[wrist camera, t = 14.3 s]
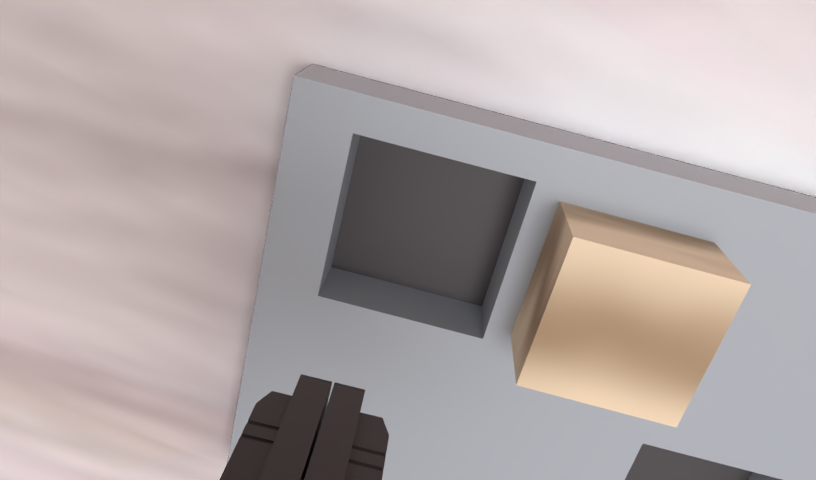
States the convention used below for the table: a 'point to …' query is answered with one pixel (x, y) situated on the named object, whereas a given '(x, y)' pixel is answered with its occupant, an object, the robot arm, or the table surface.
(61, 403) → the table surface
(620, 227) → the beech block
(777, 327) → the board
